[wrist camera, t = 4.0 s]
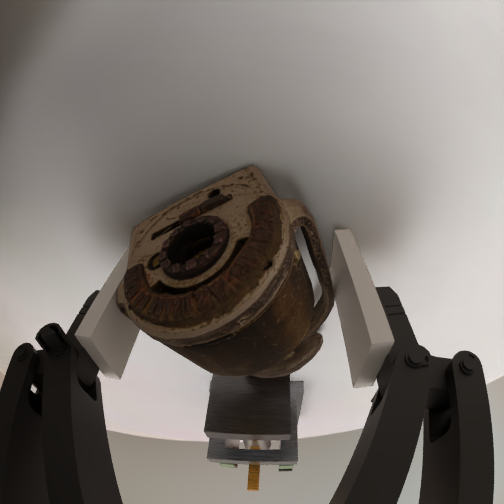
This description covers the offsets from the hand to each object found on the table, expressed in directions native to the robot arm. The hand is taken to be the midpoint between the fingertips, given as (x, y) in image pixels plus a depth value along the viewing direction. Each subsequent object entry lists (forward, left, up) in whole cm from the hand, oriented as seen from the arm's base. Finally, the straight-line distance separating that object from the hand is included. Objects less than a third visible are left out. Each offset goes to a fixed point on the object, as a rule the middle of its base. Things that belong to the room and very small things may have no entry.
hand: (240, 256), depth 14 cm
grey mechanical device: (+13, 0, +1) cm, 13 cm away
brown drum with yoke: (+2, 0, -1) cm, 2 cm away
